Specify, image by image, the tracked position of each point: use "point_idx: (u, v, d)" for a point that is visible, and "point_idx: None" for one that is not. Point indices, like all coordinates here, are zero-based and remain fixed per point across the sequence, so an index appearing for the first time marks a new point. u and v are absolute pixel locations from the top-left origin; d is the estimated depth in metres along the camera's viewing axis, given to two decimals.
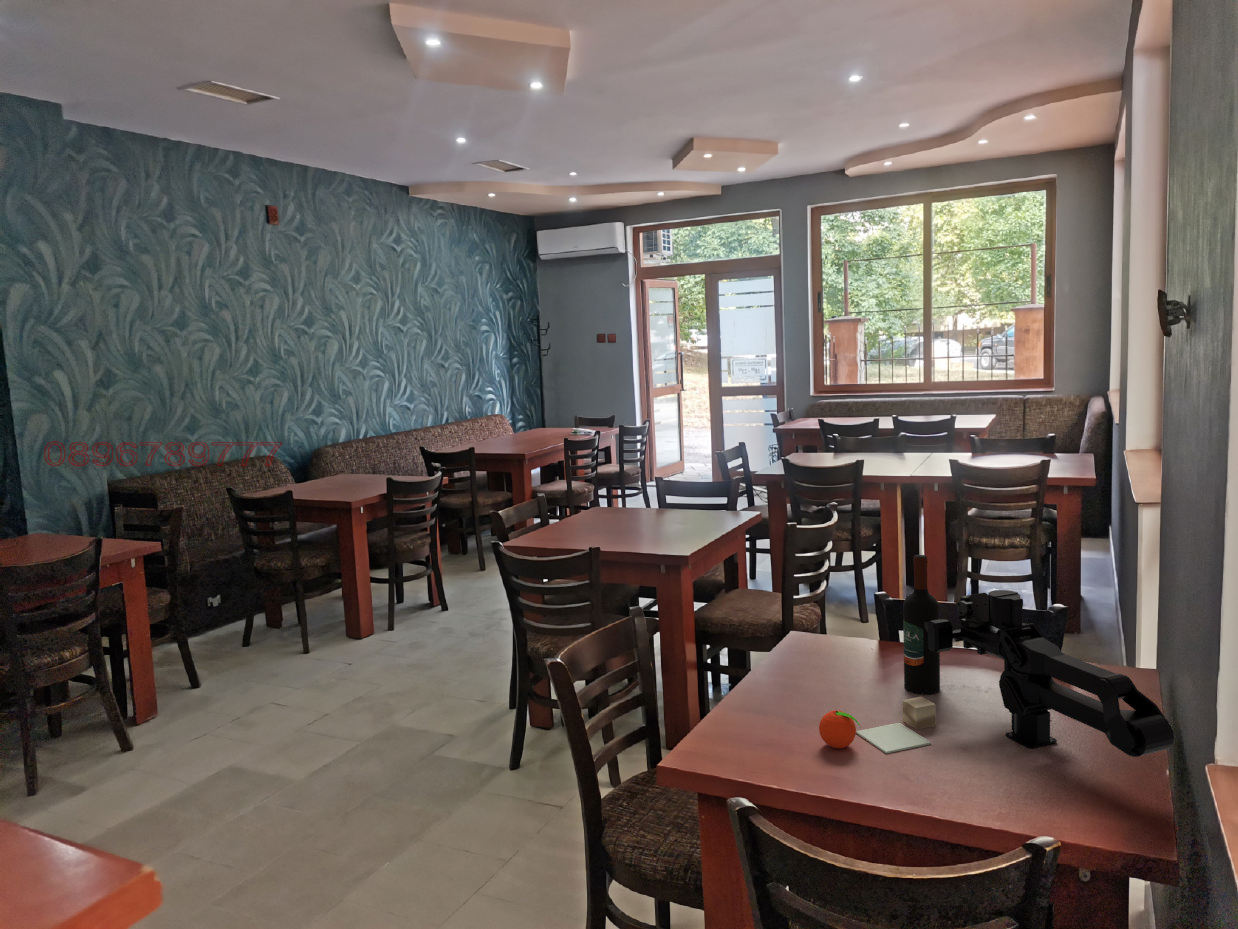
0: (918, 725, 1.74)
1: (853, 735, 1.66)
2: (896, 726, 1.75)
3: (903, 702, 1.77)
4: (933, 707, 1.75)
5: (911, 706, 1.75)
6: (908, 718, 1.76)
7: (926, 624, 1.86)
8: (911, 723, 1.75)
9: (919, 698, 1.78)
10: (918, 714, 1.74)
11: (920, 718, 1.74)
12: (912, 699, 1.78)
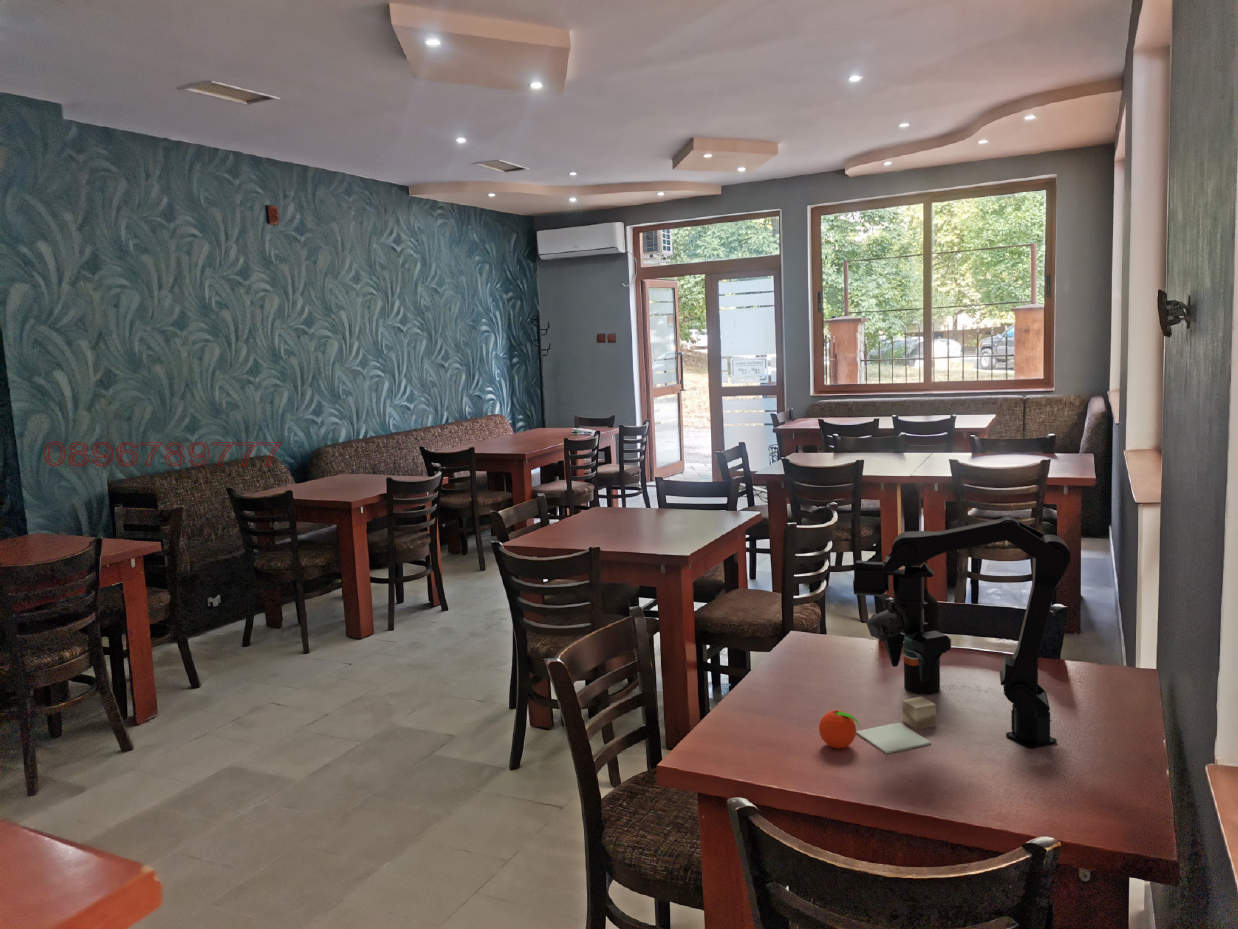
0: (918, 725, 1.74)
1: (853, 735, 1.66)
2: (896, 726, 1.75)
3: (903, 702, 1.77)
4: (933, 707, 1.75)
5: (911, 706, 1.75)
6: (908, 718, 1.76)
7: (924, 675, 1.68)
8: (911, 723, 1.75)
9: (919, 698, 1.78)
10: (918, 714, 1.74)
11: (920, 718, 1.74)
12: (912, 699, 1.78)
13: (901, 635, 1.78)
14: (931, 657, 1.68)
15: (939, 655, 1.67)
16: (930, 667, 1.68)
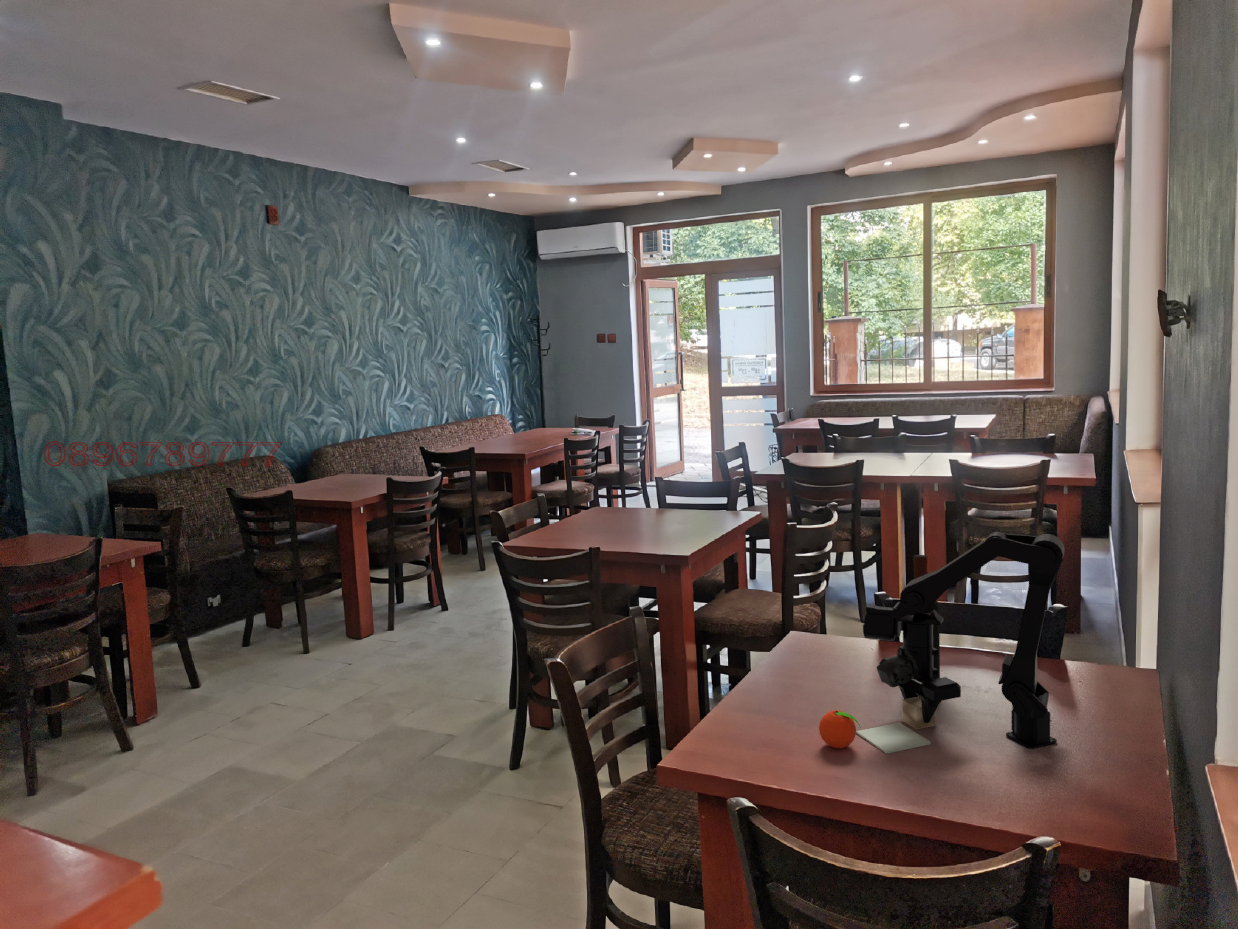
0: (918, 725, 1.74)
1: (853, 735, 1.66)
2: (896, 726, 1.75)
3: (903, 702, 1.77)
4: None
5: (911, 705, 1.75)
6: (908, 718, 1.76)
7: (927, 716, 1.74)
8: (911, 723, 1.75)
9: (919, 698, 1.78)
10: (918, 713, 1.74)
11: (920, 718, 1.74)
12: (912, 699, 1.78)
13: (917, 682, 1.79)
14: None
15: None
16: (933, 709, 1.73)
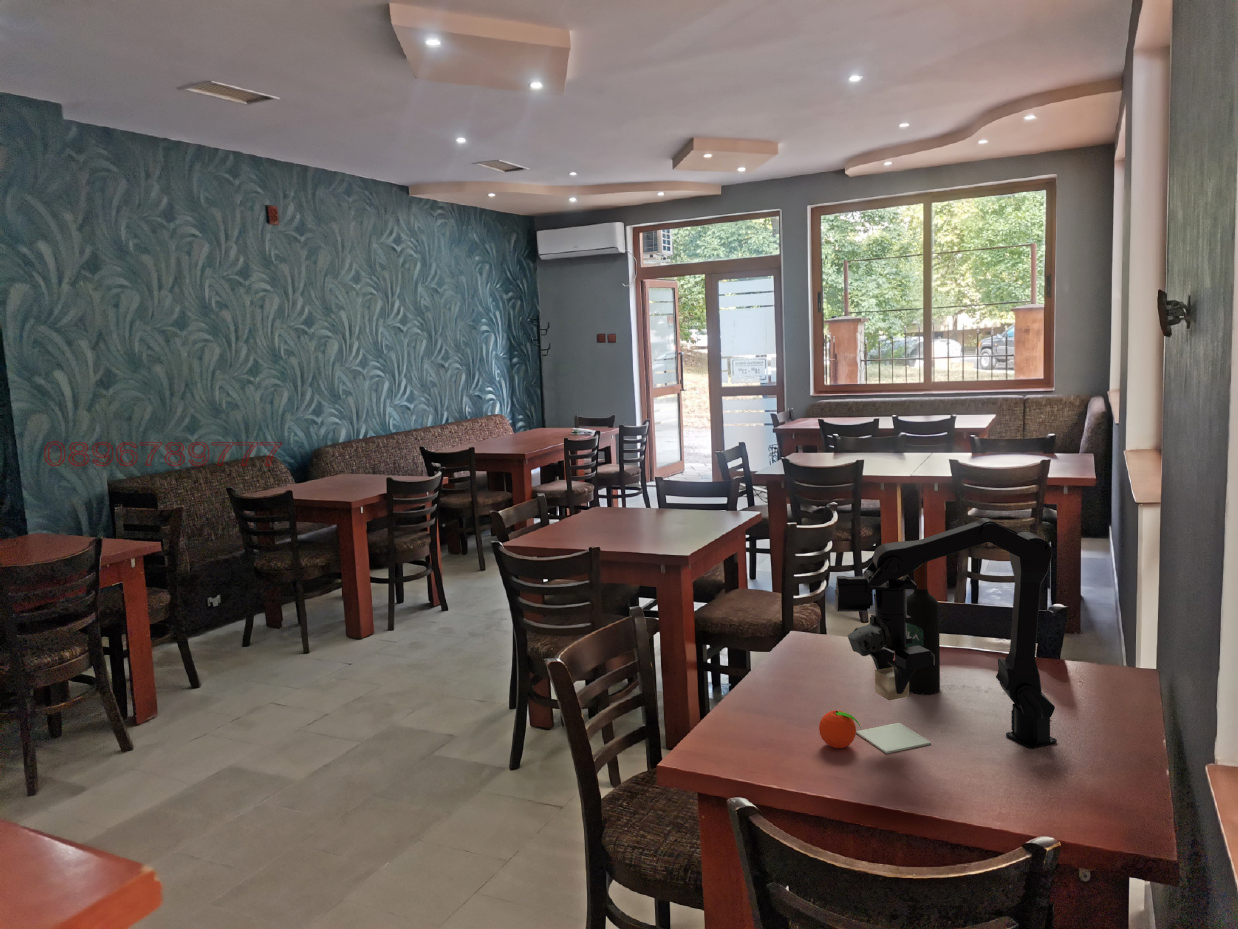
0: (891, 695, 1.67)
1: (853, 735, 1.66)
2: (896, 726, 1.75)
3: (876, 672, 1.70)
4: None
5: (883, 676, 1.68)
6: (881, 689, 1.69)
7: (900, 687, 1.66)
8: (883, 694, 1.68)
9: (892, 668, 1.71)
10: (891, 684, 1.66)
11: (893, 688, 1.67)
12: (885, 669, 1.70)
13: (891, 652, 1.72)
14: (907, 669, 1.65)
15: None
16: (906, 679, 1.66)
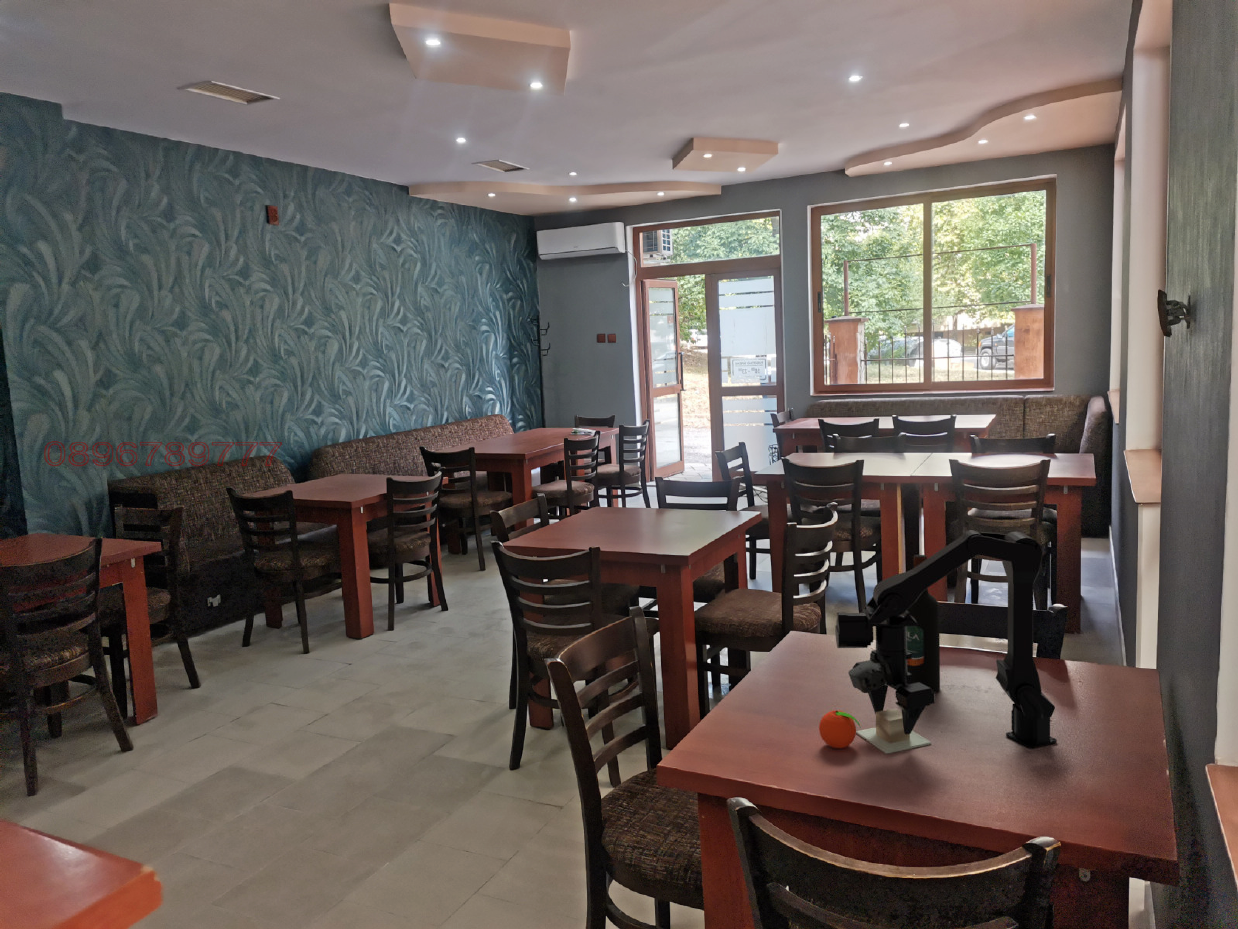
0: (891, 738, 1.67)
1: (853, 735, 1.66)
2: None
3: (876, 714, 1.71)
4: None
5: (884, 718, 1.68)
6: (882, 731, 1.70)
7: (908, 728, 1.65)
8: (884, 736, 1.69)
9: (893, 710, 1.72)
10: (892, 727, 1.67)
11: (894, 731, 1.68)
12: (886, 711, 1.71)
13: (885, 684, 1.75)
14: (915, 709, 1.64)
15: (923, 707, 1.64)
16: (914, 720, 1.64)
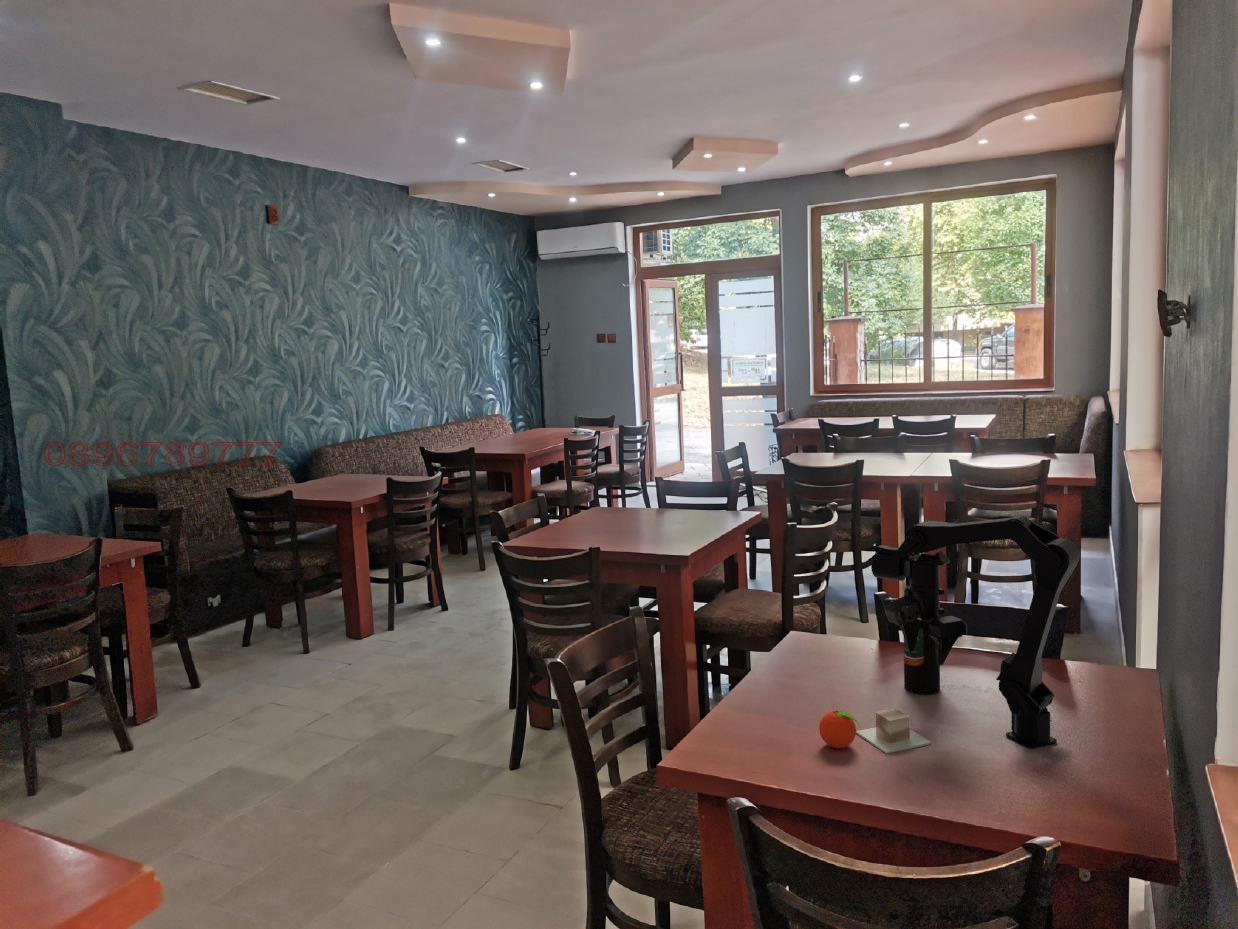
0: (891, 738, 1.67)
1: (853, 735, 1.66)
2: None
3: (876, 714, 1.71)
4: (907, 720, 1.68)
5: (884, 718, 1.68)
6: (882, 731, 1.70)
7: (941, 659, 1.74)
8: (884, 736, 1.69)
9: (893, 710, 1.72)
10: (892, 727, 1.67)
11: (894, 731, 1.68)
12: (886, 711, 1.71)
13: (917, 621, 1.84)
14: (947, 641, 1.74)
15: (955, 639, 1.73)
16: (946, 651, 1.74)
